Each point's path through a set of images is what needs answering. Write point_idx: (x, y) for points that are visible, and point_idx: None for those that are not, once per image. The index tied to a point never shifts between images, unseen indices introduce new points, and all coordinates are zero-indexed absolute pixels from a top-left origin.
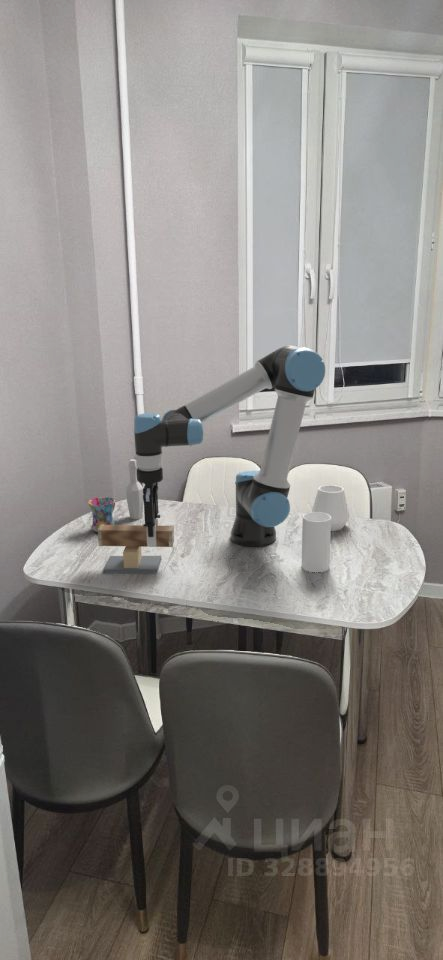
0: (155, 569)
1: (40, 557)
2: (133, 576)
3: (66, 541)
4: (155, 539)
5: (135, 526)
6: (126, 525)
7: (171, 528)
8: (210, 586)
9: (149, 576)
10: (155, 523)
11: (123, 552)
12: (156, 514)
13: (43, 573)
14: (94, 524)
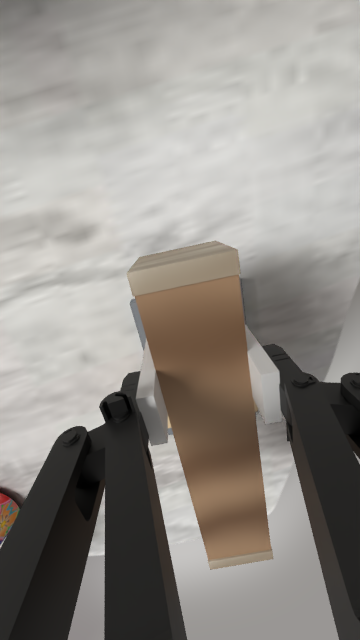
0: (241, 285)
1: (189, 538)
2: (265, 336)
3: (95, 535)
4: (248, 329)
5: (199, 462)
6: (197, 497)
7: (189, 269)
8: (340, 13)
9: (262, 292)
10: (157, 389)
11: (257, 409)
12: (138, 431)
13: None
14: (4, 538)
